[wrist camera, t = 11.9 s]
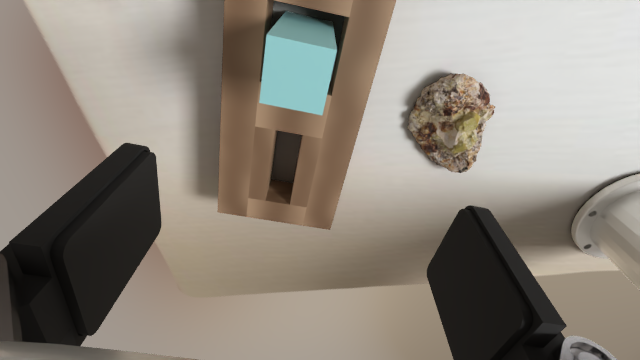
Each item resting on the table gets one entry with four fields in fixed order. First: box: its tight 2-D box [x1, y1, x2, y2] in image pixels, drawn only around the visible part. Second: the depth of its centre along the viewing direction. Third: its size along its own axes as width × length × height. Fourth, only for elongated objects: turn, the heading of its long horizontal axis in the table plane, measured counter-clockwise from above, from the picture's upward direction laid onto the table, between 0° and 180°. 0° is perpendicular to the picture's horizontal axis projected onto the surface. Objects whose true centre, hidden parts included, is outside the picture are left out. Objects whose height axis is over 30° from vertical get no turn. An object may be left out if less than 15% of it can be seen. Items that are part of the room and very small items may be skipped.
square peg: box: [259, 11, 337, 115], centre depth 24 cm, size 4×4×11 cm
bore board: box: [218, 0, 396, 230], centre depth 30 cm, size 12×24×4 cm, turn 169°
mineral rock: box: [407, 73, 495, 173], centre depth 32 cm, size 11×4×8 cm
